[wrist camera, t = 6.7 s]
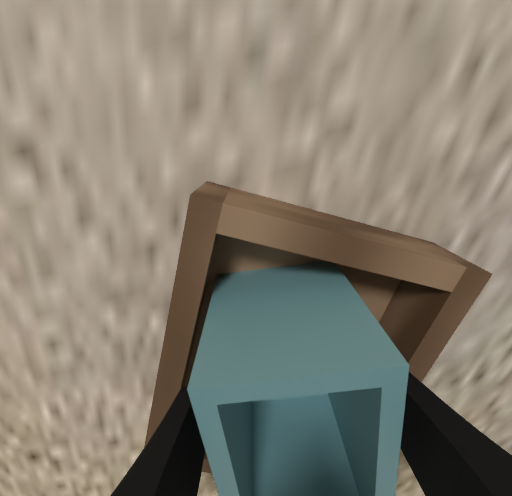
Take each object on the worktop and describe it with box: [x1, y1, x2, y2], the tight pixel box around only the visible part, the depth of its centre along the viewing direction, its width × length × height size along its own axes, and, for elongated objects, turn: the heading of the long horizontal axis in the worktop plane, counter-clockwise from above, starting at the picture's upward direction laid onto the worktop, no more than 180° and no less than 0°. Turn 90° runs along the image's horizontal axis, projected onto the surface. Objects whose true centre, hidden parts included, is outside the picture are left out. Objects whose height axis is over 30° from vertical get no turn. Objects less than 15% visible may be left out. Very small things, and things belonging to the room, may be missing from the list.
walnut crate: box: [144, 181, 492, 473], centre depth 12 cm, size 10×13×3 cm
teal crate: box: [187, 261, 409, 496], centre depth 10 cm, size 5×8×6 cm, turn 7°
